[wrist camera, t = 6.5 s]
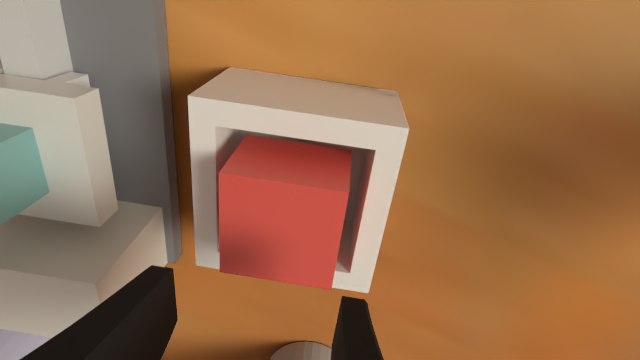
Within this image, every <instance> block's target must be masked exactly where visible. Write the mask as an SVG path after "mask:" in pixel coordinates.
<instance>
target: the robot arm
mask: <svg viewBox="0 0 640 360" xmlns="http://www.w3.org/2000/svg"><path fill="white" fill-rule="evenodd" d="M176 322H177V308H176V297H175V286H174V274H173V269H172V268H166V267H160V266H154V265H151V266H150V267H148V268H147V269H146V270H144V271H143V272H142V273H140V274H139V275H138V276H136V277H135V278H134V279H132V280H131V281H130V282H128V283H127V284H126V285H124V286H123V287H122V288H121V289H119V290H118V291H117V292H115V293H114V294H113V295H111V296H110V297H109V298H107V299H106V300H105V301H103V302H102V303H101V304H99V305H98V306H97V307H95V308H94V309H92V310H91V311H90V312H88V313H87V314H86V315H84V316H83V317H81V318H80V319H79V320H77V321H76V322H75V323H73V324H72V325H70V326H69V327H67V328H66V329H64V330H63V331H62V332H60V333H59V334H57V335H56V336H54V337H53V338H51V337H45V336H39V335H34V334H28V333H22V332H16V331H10V330H4V329H0V360H160V359H161V358H162V356H163V353H164V351H165V349H166V347H167V344H168V342H169V340H170V337H171V335H172V332H173V330H174V327H175V325H176ZM331 360H384V359H383V356H382V354H381V351H380V348H379V345H378V342H377V338H376V335H375V332H374V329H373V325H372V321H371V318H370V313H369V309H368V304H367V302H366V301H365V300H364V299H358V298H351V297H345V296H342V299H341V304H340V309H339V314H338V319H337V324H336V328H335V333H334V338H333V343H332V350H331Z"/></svg>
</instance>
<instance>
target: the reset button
mask: <svg viewBox="0 0 640 360" xmlns="http://www.w3.org/2000/svg"><path fill="white" fill-rule="evenodd" d="M351 154H352V150H346V149H340V148H333V147H327V146H320V145H313V144H307V143H300V142H293V141H287V140H280V139H274V138H267V137H260V136H254V135H246V136H245V138H244V139H243V140H242V142H241V143H240V144H239V146H238V147H237V148H236V150H235V151H234V152H233V154H232V155H231V157H230V158H229V159H228V161H227V162H226V163H225V165H224V166H223V167H222V169H221V170H220V172H219V253H220V272H224V273H230V274H236V275H242V276H248V277H254V278H261V279H267V280H273V281H279V282H285V283H292V284H298V285H304V286H310V287H316V288H322V289H329V290H331V289H332V284H333V278H334V273H335V267H336V262H337V256H338V251H339V246H340V240H341V235H342V229H343V224H344V218H345V213H346V207H347V202H348V197H349V188H350V171H351Z"/></svg>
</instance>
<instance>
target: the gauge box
mask: <svg viewBox="0 0 640 360" xmlns="http://www.w3.org/2000/svg"><path fill="white" fill-rule="evenodd" d="M188 114H189V134H190V154H191V174H192V194H193V215H194V235H195V255H196V265H197V266H203V267H209V268H215V269H220V253H219V172H220V170H221V169H222V167H223V166H224V165H225V163H226V162H227V161H228V159H229V158H230V157H231V155H232V154H233V152H234V151H235V150H236V148H237V147H238V146H239V144H240V143H241V142H242V140H243V139H244V138H245V136H246V135H254V136H260V137H267V138H274V139H280V140H287V141H293V142H300V143H307V144H313V145H320V146H327V147H333V148H340V149H346V150H352V154H351V171H350V188H349V197H348V202H347V207H346V213H345V218H344V224H343V229H342V235H341V240H340V246H339V251H338V256H337V262H336V267H335V273H334V278H333V284H332V287H333V288H339V289H345V290H351V291H357V292H364V293H369V289H370V285H371V281H372V277H373V273H374V269H375V265H376V261H377V257H378V253H379V249H380V245H381V240H382V236H383V232H384V228H385V224H386V220H387V216H388V212H389V208H390V204H391V200H392V196H393V192H394V188H395V184H396V180H397V176H398V172H399V168H400V164H401V160H402V156H403V152H404V148H405V144H406V140H407V136H408V132H409V126H408V123H407V119H406V116H405V113H404V110H403V107H402V104H401V100H400V97H399V94H398V91H392V90H385V89H379V88H372V87H365V86H358V85H351V84H344V83H337V82H331V81H324V80H317V79H310V78H303V77H296V76H289V75H283V74H276V73H269V72H262V71H255V70H248V69H241V68H235V67H229V68H228V69H226V70H225V71H223V72H222V73H220V74H219V75H217V76H216V77H215V78H213V79H212V80H210V81H209V82H207V83H206V84H204V85H203V86H201V87H200V88H198V89H197V90H195V91H194V92H192V93H191V94H189V95H188Z"/></svg>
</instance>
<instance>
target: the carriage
mask: <svg viewBox="0 0 640 360" xmlns="http://www.w3.org/2000/svg"><path fill="white" fill-rule="evenodd" d="M117 210H118V204H117V198H116V192H115V186H114V180H113V174H112V167H111V161H110V155H109V149H108V143H107V137H106V131H105V125H104V119H103V113H102V106H101V100H100V94H99V88H93V87H90V83H89V78H88V74H82V73H75V72H69V73H66V74H62V75H59V76H56V77H53V78H50V79H47V80H39V79H33V78H26V77H19V76H13V75H6V74H5V73H4V70H3V66H2V63H1V62H0V226H1V225H3V224H4V223H6V222H7V221H8V220H10V219H11V218H13V217H14V216H16V215H17V214H20V215H26V216H33V217H39V218H45V219H51V220H58V221H64V222H70V223H76V224H83V225H89V226H95V227H100V226H101V225H103V224H104V223H105V222H106V221H107V220H108V219H109V218H110V217H111V216H112V215H113V214H114V213H115V212H116V211H117Z"/></svg>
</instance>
